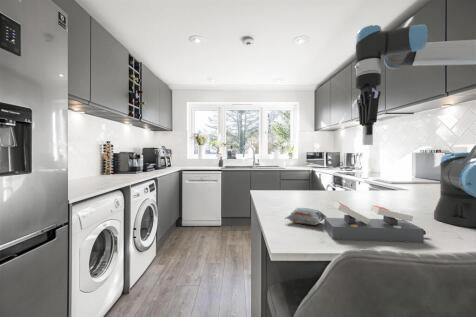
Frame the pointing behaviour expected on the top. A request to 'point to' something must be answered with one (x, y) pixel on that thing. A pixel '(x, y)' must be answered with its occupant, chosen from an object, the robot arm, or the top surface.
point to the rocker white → (391, 213)
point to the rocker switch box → (373, 229)
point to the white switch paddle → (351, 212)
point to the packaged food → (306, 216)
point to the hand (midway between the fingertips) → (367, 144)
